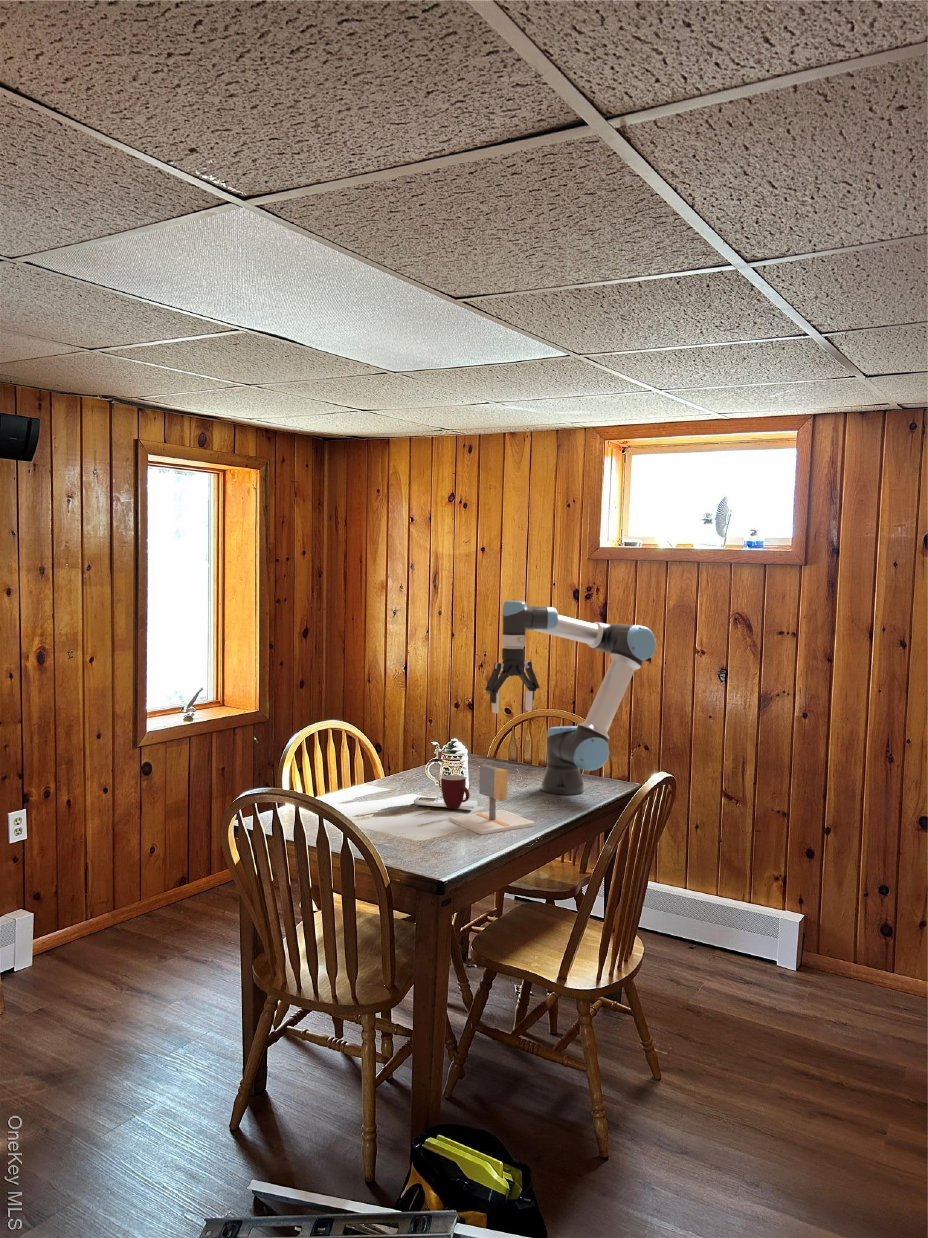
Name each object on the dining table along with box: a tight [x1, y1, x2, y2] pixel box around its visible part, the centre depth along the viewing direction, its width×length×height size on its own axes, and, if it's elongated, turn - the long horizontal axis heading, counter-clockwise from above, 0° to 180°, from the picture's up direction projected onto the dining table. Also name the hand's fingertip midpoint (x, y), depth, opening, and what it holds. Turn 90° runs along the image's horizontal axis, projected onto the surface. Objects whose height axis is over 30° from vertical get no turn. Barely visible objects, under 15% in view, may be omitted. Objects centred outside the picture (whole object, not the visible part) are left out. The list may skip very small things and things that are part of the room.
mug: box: [440, 774, 470, 810], centre depth 300 cm, size 11×8×10 cm
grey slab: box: [478, 763, 508, 802], centre depth 282 cm, size 11×3×9 cm, turn 34°
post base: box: [449, 797, 537, 835], centre depth 282 cm, size 20×18×8 cm
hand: (512, 711), depth 302 cm, fingers open, 13 cm apart
